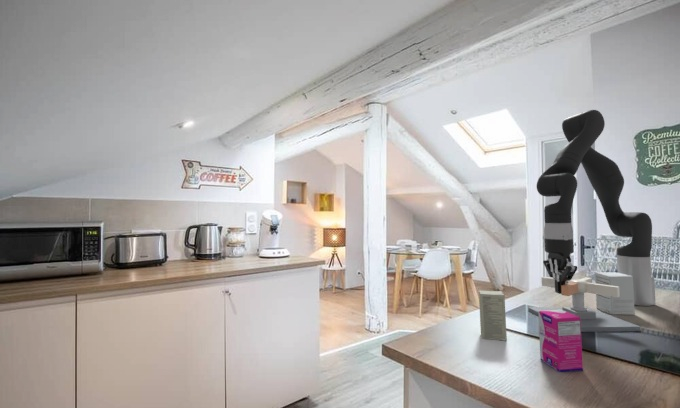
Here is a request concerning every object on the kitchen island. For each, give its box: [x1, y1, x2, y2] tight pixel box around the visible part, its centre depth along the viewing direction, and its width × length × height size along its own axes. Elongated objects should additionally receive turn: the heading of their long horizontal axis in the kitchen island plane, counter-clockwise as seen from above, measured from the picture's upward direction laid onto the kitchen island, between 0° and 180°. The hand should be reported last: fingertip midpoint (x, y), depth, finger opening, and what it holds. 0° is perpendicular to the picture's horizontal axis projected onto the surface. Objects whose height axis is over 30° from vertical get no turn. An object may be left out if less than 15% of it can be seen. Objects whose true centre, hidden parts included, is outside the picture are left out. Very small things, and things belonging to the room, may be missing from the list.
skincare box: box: [478, 289, 508, 341], centre depth 88 cm, size 6×4×12 cm
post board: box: [527, 293, 642, 333], centre depth 101 cm, size 20×20×9 cm
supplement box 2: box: [594, 271, 636, 316], centre depth 109 cm, size 7×7×13 cm
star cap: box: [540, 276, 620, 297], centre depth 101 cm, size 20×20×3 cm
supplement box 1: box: [538, 309, 584, 373], centre depth 71 cm, size 6×6×12 cm
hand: (560, 293), depth 101 cm, fingers closed
